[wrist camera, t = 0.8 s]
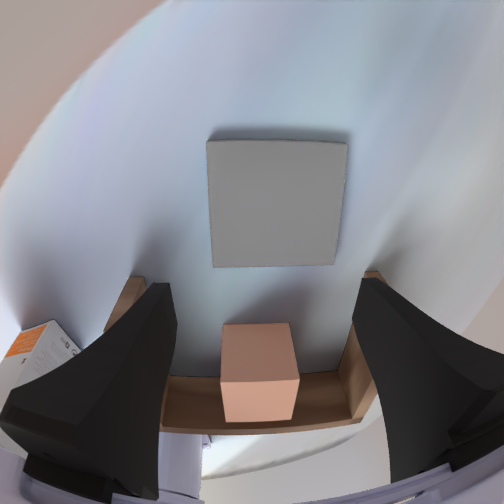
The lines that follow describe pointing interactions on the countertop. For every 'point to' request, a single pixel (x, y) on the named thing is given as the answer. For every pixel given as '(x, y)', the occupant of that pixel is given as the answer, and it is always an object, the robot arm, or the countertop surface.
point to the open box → (303, 419)
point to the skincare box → (32, 364)
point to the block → (258, 372)
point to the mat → (275, 201)
